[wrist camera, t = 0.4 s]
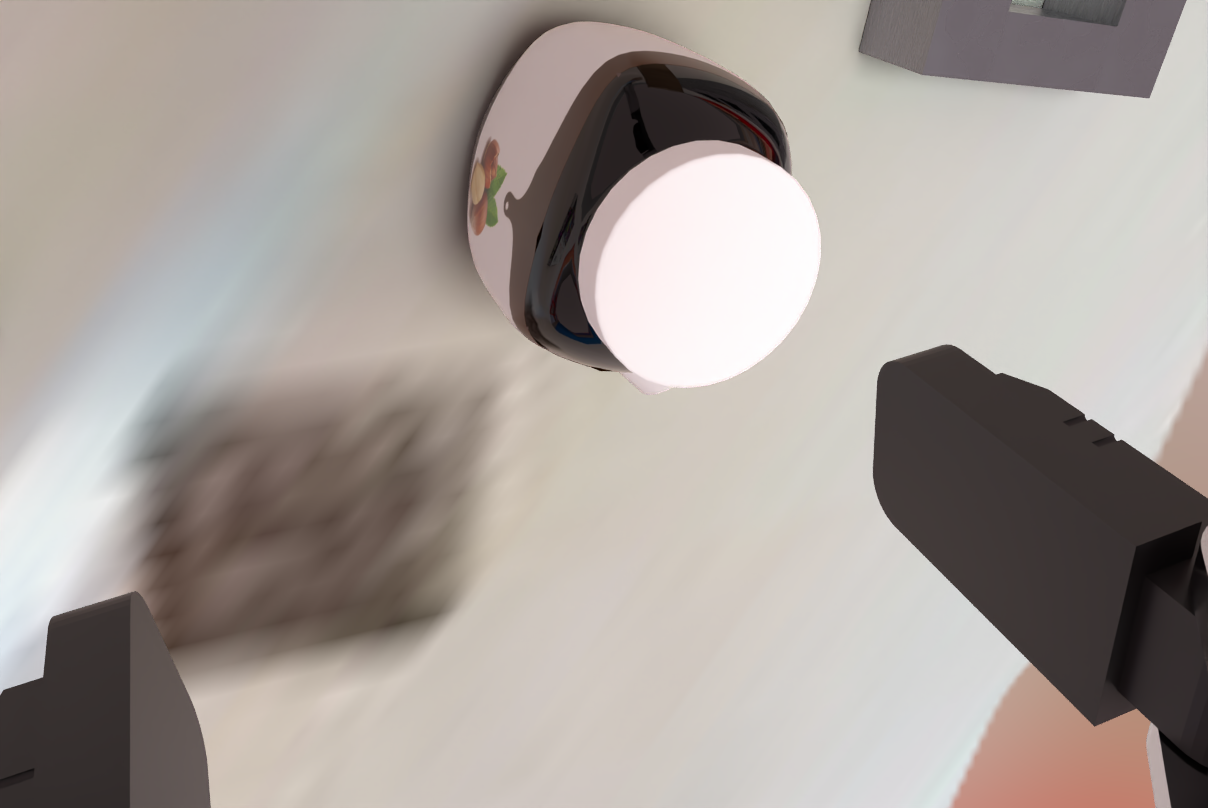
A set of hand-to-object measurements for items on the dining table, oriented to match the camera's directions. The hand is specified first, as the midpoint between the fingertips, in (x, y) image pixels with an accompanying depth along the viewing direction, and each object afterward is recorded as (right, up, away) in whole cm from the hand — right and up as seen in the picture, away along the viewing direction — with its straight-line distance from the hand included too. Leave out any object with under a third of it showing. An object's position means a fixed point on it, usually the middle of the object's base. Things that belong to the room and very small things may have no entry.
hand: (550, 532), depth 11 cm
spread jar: (0, +9, +28) cm, 30 cm away
